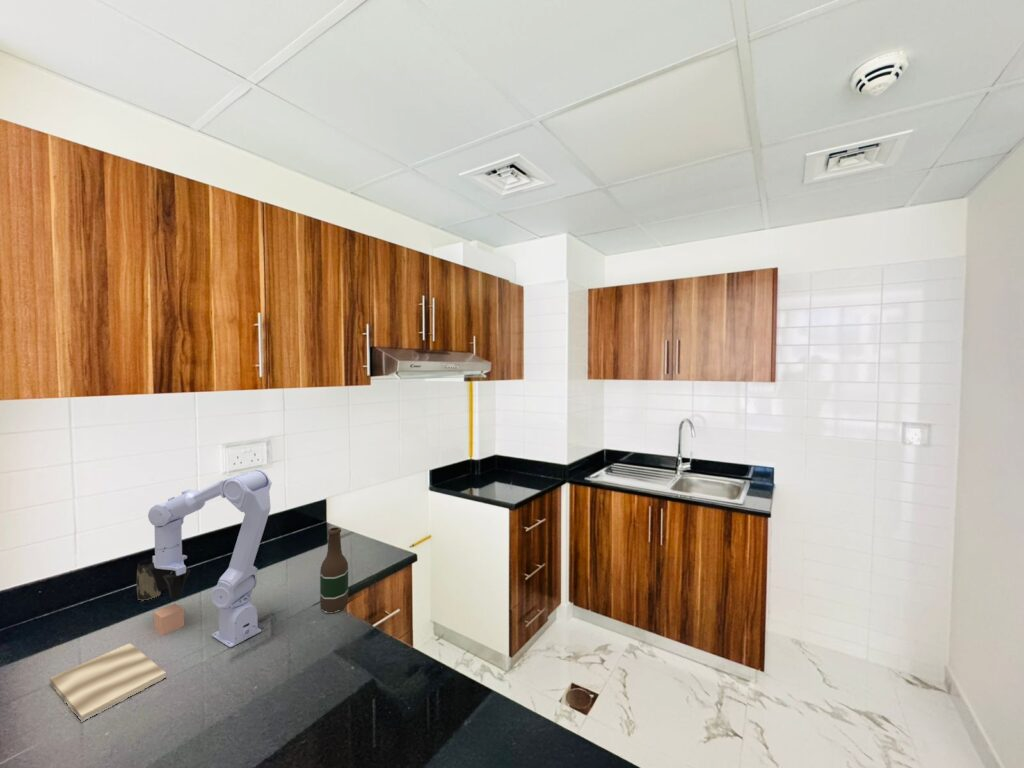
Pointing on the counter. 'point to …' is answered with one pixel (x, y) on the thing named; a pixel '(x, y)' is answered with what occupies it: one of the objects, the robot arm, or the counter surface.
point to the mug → (146, 581)
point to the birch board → (106, 680)
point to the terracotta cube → (168, 619)
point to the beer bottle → (334, 575)
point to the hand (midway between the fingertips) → (169, 593)
